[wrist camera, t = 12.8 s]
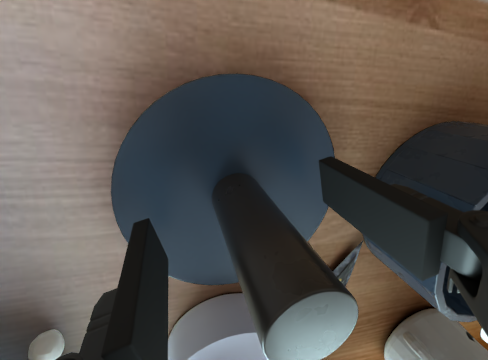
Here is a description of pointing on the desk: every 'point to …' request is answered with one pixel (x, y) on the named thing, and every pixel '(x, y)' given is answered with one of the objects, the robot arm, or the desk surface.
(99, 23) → the desk surface
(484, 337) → the pill bottle
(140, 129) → the lid
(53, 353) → the figurine
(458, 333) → the mug
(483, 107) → the desk surface
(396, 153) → the pot
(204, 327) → the wedge on round base
